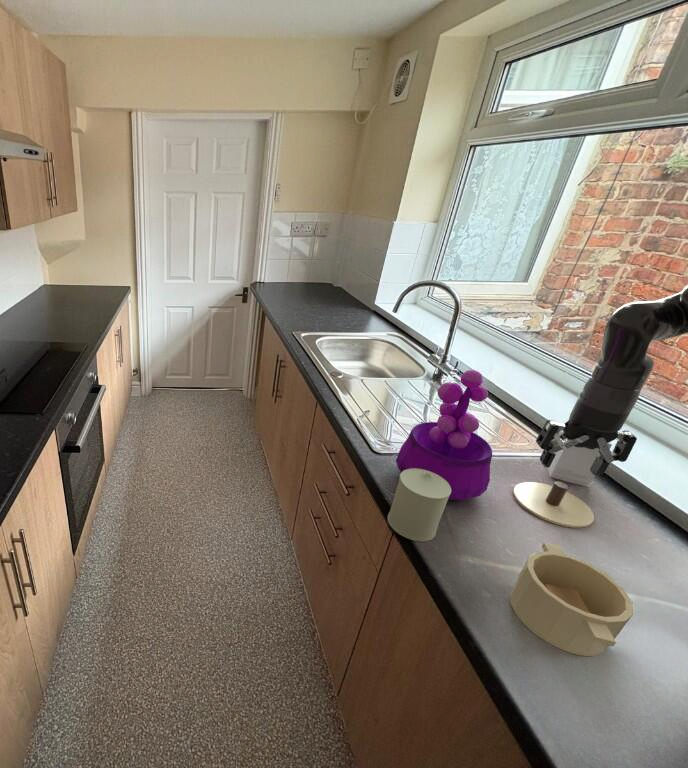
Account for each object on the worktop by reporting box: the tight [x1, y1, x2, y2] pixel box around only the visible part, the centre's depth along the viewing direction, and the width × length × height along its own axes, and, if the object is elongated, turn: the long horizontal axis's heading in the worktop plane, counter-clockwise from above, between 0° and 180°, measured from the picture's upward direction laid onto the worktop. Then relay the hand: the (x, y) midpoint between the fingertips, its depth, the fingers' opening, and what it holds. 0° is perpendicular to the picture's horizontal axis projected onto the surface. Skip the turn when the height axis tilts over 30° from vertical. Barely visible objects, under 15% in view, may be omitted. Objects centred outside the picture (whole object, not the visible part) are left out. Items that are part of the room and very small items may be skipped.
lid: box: [512, 480, 595, 529], centre depth 91 cm, size 14×14×6 cm
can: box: [387, 468, 451, 542], centre depth 86 cm, size 9×9×12 cm
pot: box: [509, 542, 634, 657], centre depth 68 cm, size 13×18×8 cm
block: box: [544, 584, 590, 613], centre depth 68 cm, size 4×4×4 cm
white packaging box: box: [546, 421, 613, 488], centre depth 99 cm, size 7×7×13 cm
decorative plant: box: [395, 369, 493, 501], centre depth 93 cm, size 19×18×30 cm
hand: (569, 469), depth 88 cm, fingers open, 8 cm apart
